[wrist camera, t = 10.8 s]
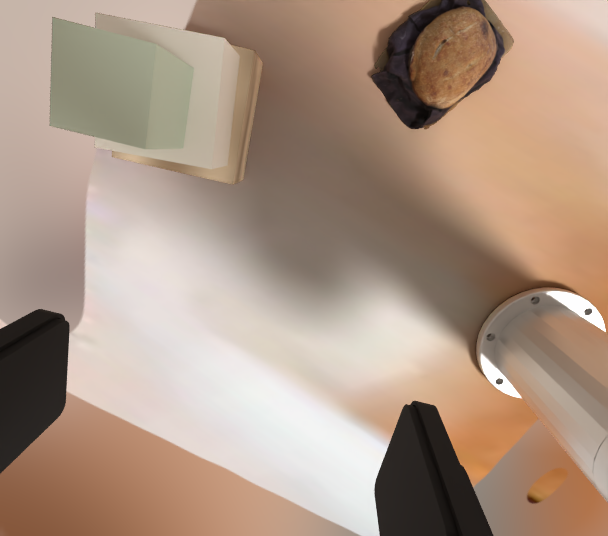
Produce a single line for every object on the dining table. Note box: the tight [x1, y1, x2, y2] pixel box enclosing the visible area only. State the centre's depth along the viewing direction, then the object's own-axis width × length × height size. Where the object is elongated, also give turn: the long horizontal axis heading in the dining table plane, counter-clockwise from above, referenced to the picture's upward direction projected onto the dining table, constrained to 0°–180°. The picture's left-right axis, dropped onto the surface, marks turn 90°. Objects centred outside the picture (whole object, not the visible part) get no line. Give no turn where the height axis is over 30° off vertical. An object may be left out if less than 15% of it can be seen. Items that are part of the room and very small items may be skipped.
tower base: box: [112, 45, 263, 185], centre depth 32 cm, size 10×10×5 cm
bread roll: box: [371, 0, 514, 129], centre depth 31 cm, size 11×8×4 cm
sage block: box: [50, 17, 194, 149], centre depth 22 cm, size 5×5×6 cm
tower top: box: [95, 13, 240, 169], centre depth 27 cm, size 8×8×5 cm
